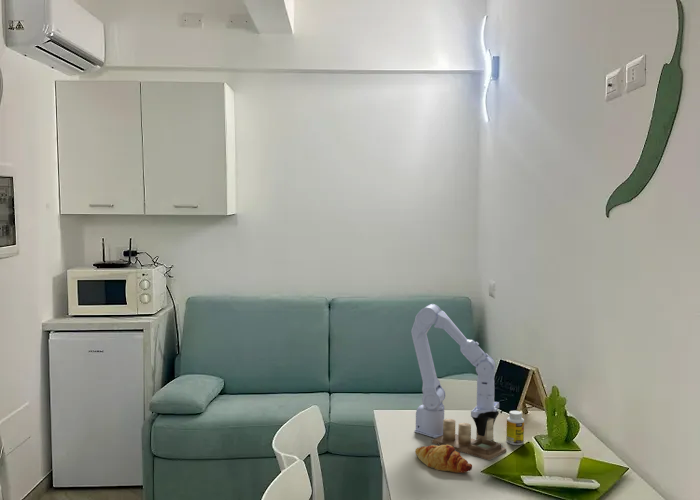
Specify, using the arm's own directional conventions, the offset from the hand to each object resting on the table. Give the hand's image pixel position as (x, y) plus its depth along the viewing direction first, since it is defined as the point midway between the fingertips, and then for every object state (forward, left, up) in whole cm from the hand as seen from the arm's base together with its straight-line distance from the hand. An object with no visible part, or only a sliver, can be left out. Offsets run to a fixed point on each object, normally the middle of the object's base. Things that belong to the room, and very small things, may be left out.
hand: (484, 433), depth 218 cm
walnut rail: (0, -10, -2) cm, 10 cm away
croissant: (+2, -28, -2) cm, 28 cm away
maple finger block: (0, 0, -2) cm, 2 cm away
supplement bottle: (+9, +4, -2) cm, 10 cm away
